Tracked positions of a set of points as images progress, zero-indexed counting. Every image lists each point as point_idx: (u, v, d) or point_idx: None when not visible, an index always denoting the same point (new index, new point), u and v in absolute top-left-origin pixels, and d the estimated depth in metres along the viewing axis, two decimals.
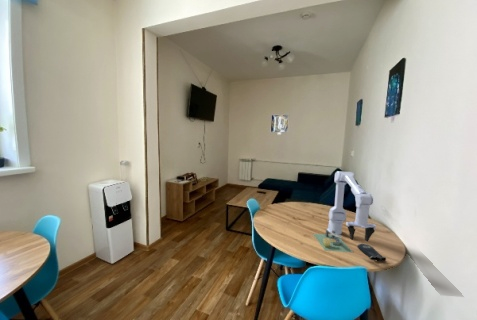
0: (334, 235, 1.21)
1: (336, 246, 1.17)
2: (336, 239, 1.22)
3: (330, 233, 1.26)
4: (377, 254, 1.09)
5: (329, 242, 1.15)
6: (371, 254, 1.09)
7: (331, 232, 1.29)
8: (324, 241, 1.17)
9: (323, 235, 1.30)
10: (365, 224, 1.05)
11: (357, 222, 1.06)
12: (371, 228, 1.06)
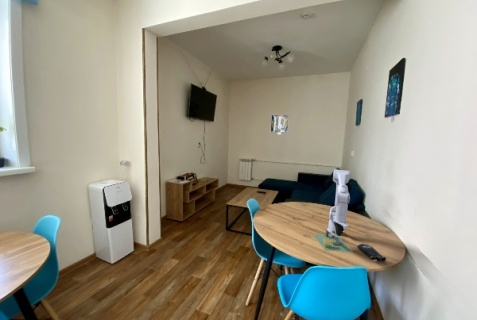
0: (334, 235, 1.20)
1: (336, 246, 1.17)
2: (336, 239, 1.22)
3: (330, 233, 1.26)
4: (377, 254, 1.09)
5: (329, 242, 1.15)
6: (371, 254, 1.09)
7: (331, 232, 1.29)
8: (324, 241, 1.17)
9: (323, 235, 1.30)
10: (336, 219, 1.16)
11: None
12: (342, 227, 1.12)
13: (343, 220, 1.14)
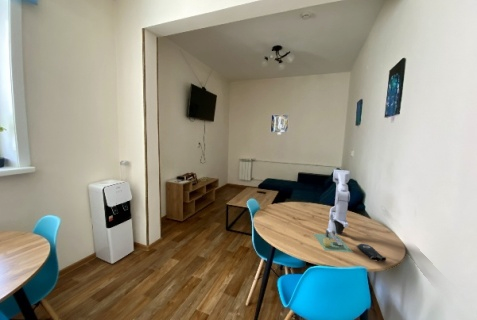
0: None
1: (336, 246, 1.17)
2: None
3: (330, 235, 1.26)
4: (377, 254, 1.09)
5: (329, 242, 1.15)
6: (371, 254, 1.09)
7: (331, 232, 1.29)
8: (324, 241, 1.17)
9: (323, 235, 1.30)
10: (336, 217, 1.16)
11: None
12: (342, 225, 1.12)
13: (343, 218, 1.14)
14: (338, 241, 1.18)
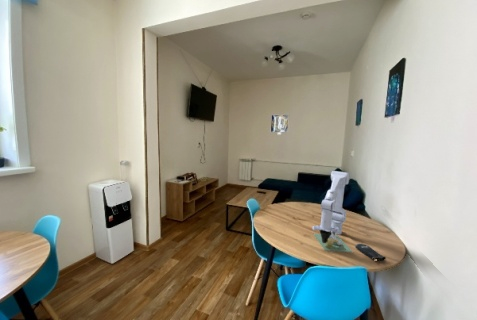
0: None
1: (336, 246, 1.17)
2: None
3: (330, 235, 1.26)
4: (377, 254, 1.09)
5: (331, 242, 1.15)
6: (371, 254, 1.08)
7: (331, 232, 1.29)
8: None
9: None
10: (329, 228, 1.13)
11: (322, 226, 1.15)
12: None
13: None
14: (338, 241, 1.18)
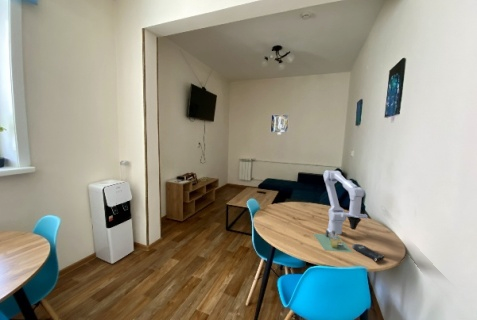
0: None
1: None
2: None
3: (330, 235, 1.26)
4: (376, 253, 1.09)
5: (336, 242, 1.15)
6: (372, 255, 1.08)
7: (331, 232, 1.29)
8: (331, 241, 1.17)
9: (323, 235, 1.30)
10: (358, 214, 1.18)
11: (351, 213, 1.19)
12: None
13: None
14: None
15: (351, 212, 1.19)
